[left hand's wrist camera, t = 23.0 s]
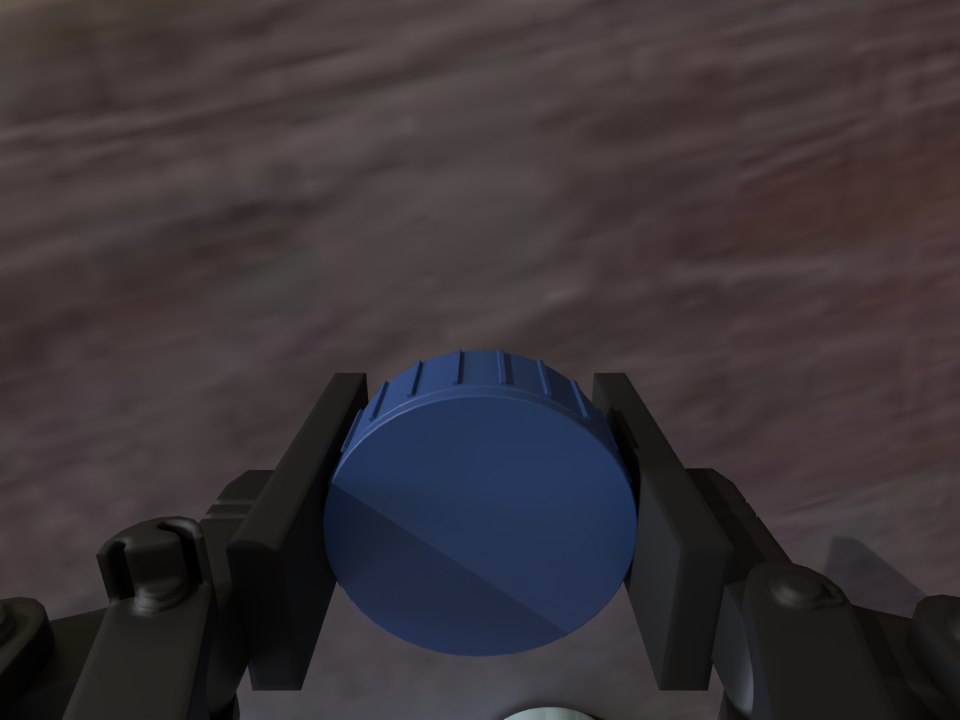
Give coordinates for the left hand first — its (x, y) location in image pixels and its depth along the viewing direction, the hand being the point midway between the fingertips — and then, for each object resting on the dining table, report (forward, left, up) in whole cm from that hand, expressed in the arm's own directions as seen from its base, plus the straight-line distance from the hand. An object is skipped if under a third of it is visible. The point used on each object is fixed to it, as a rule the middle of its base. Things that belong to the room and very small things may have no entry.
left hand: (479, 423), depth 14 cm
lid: (0, 0, +4) cm, 4 cm away
